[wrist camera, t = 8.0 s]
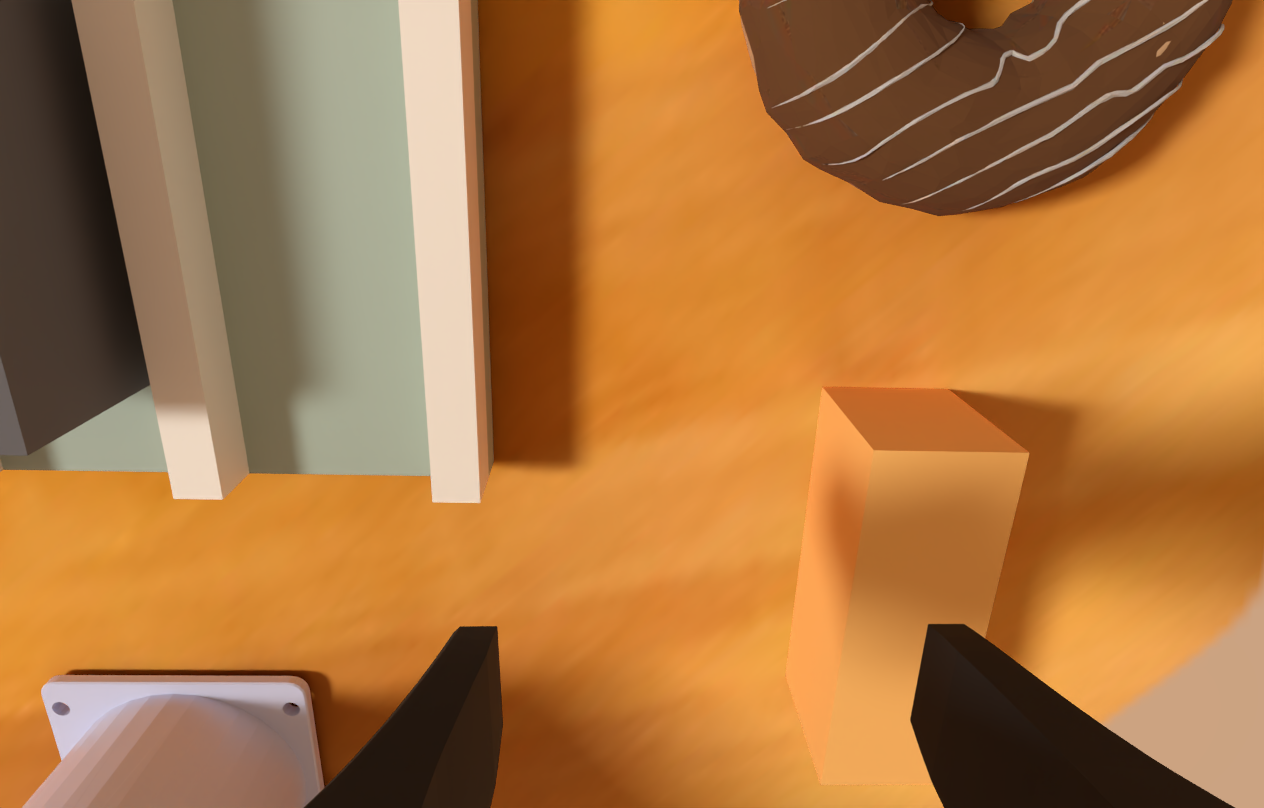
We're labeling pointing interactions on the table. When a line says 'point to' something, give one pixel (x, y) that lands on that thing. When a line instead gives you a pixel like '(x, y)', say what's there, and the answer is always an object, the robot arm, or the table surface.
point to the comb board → (294, 241)
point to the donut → (969, 90)
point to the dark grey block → (56, 240)
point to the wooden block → (892, 566)
